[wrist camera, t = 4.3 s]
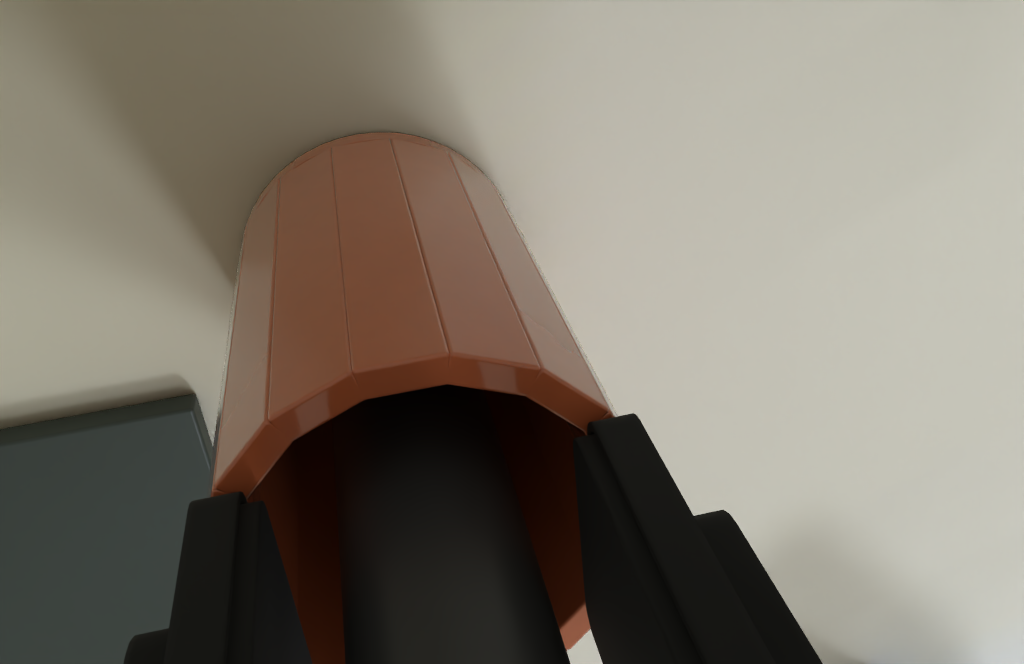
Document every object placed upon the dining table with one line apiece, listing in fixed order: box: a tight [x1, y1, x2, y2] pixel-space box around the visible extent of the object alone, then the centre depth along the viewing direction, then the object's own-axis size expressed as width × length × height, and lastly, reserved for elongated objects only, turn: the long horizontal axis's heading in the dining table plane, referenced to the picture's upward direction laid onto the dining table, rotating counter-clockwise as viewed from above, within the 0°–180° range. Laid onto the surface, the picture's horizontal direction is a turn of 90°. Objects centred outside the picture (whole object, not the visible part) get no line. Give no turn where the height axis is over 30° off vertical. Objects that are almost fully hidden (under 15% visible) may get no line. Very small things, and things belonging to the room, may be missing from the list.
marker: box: [332, 384, 570, 664], centre depth 12 cm, size 2×2×13 cm
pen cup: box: [207, 132, 618, 664], centre depth 14 cm, size 5×5×8 cm
